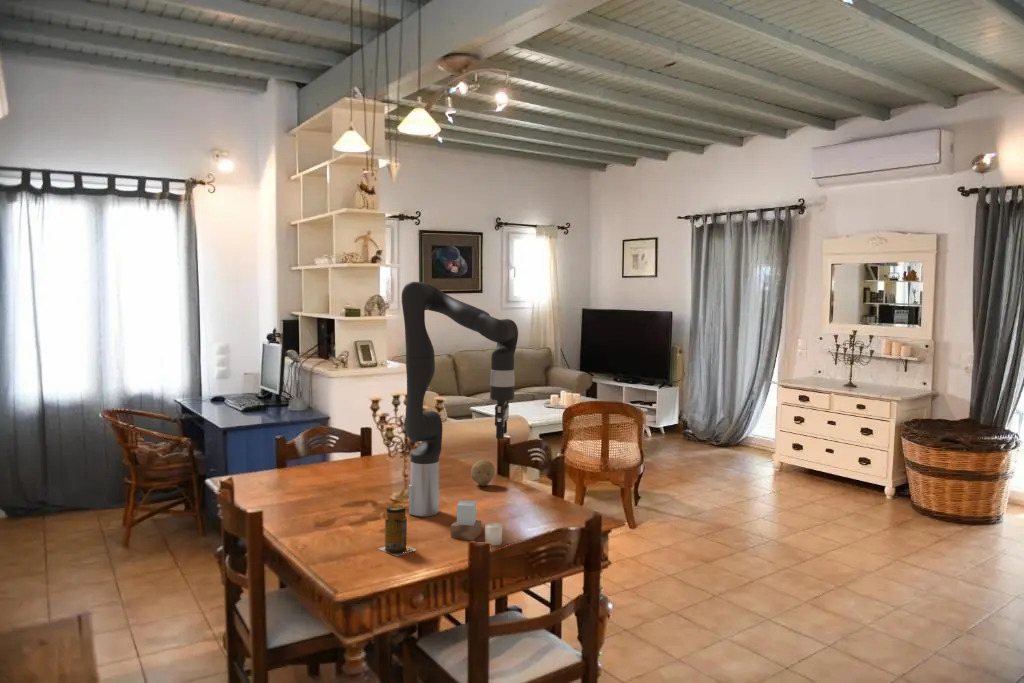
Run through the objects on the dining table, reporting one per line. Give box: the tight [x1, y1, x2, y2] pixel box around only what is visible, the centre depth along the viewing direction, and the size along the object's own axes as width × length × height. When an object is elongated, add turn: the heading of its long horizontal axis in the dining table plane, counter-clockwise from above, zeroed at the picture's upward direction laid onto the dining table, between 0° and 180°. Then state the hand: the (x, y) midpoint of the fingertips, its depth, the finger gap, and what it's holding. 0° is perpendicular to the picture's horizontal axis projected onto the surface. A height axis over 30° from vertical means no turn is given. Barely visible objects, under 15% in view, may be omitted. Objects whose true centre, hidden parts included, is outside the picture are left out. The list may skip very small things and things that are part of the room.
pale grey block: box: [456, 499, 477, 526], centre depth 221 cm, size 5×5×6 cm
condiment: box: [377, 504, 417, 557], centre depth 208 cm, size 7×8×12 cm
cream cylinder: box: [484, 522, 503, 546], centre depth 215 cm, size 5×5×5 cm
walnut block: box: [450, 519, 482, 541], centre depth 221 cm, size 7×7×4 cm
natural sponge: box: [470, 459, 496, 487], centre depth 274 cm, size 9×9×10 cm
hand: (501, 435), depth 229 cm, fingers open, 8 cm apart
